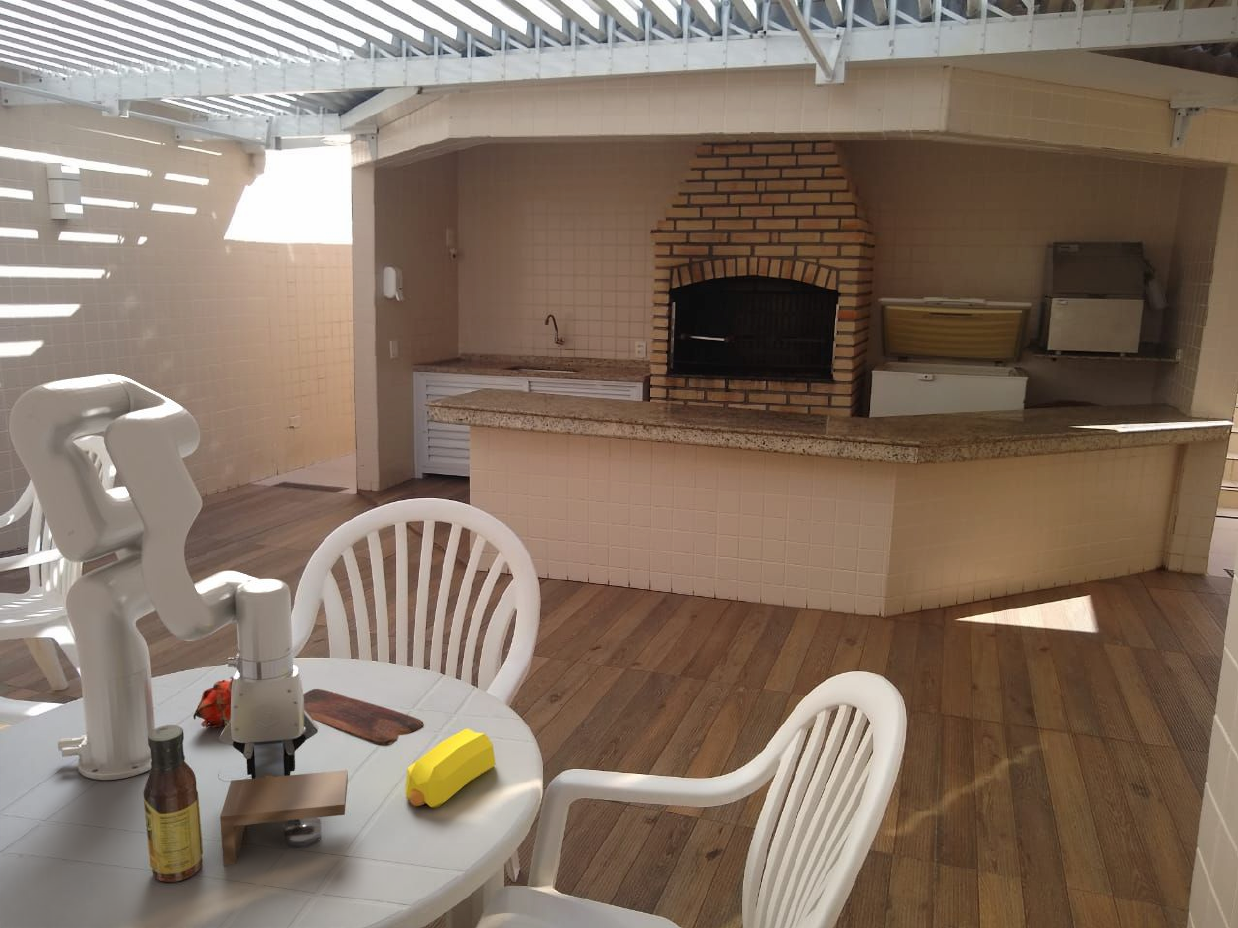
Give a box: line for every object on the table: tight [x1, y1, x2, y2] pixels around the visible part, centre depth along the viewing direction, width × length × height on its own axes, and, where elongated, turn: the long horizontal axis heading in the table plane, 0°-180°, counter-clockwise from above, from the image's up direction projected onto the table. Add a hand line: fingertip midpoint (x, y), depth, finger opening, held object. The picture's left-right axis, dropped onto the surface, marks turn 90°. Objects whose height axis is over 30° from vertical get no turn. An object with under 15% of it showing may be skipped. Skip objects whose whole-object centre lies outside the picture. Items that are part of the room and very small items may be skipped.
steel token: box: [282, 817, 322, 849], centre depth 133 cm, size 5×5×2 cm
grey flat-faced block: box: [254, 740, 285, 778], centre depth 141 cm, size 4×13×7 cm, turn 13°
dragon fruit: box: [193, 676, 234, 729], centre depth 164 cm, size 8×8×12 cm
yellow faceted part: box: [405, 727, 496, 808], centre depth 147 cm, size 18×7×8 cm
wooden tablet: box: [303, 688, 424, 746], centre depth 169 cm, size 26×2×10 cm
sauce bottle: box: [142, 724, 204, 883], centre depth 123 cm, size 6×6×20 cm
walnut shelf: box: [219, 769, 349, 866], centre depth 132 cm, size 16×9×7 cm, turn 103°
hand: (271, 775), depth 146 cm, fingers closed on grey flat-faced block, 4 cm apart
